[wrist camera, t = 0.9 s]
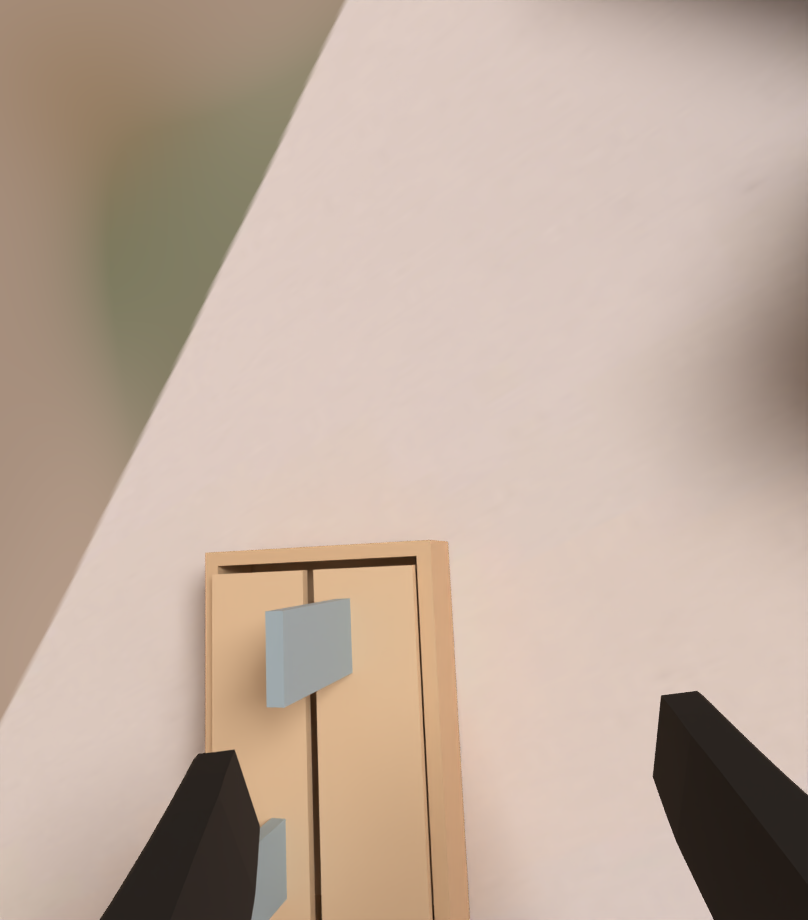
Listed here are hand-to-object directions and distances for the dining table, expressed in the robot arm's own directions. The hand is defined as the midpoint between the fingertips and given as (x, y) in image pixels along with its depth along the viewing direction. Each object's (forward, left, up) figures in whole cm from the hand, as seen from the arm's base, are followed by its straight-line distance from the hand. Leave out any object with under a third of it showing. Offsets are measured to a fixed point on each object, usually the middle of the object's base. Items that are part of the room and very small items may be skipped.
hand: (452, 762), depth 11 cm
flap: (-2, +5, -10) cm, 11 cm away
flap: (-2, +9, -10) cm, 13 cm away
